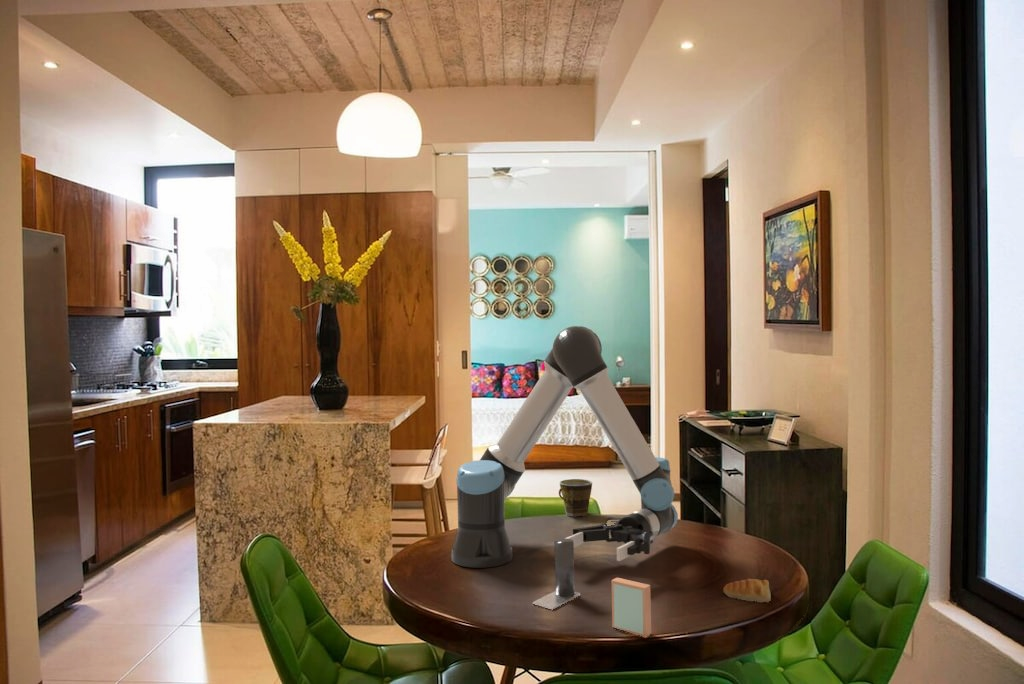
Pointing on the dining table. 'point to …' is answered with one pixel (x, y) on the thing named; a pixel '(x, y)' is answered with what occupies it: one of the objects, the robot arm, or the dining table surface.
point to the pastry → (749, 590)
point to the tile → (631, 606)
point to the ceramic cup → (576, 496)
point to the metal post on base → (561, 576)
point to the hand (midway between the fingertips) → (591, 549)
